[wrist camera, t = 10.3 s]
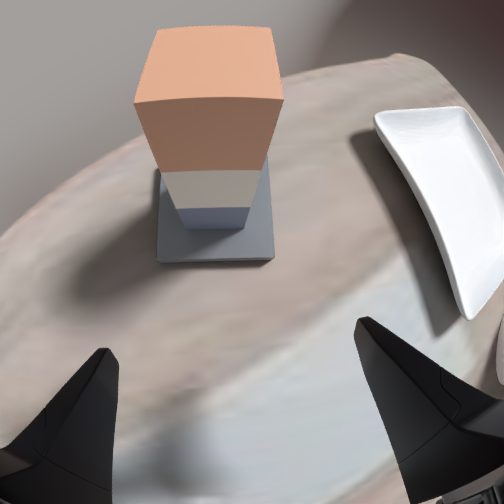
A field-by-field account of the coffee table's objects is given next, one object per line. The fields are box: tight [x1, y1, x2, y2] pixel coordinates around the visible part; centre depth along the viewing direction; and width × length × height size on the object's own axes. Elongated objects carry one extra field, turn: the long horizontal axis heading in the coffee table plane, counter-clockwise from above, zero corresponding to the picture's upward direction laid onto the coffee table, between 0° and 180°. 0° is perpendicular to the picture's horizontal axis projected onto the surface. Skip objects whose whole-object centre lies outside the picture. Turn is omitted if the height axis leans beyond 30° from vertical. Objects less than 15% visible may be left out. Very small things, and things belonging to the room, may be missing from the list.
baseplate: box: [157, 155, 275, 263], centre depth 19 cm, size 8×8×1 cm
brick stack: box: [134, 26, 284, 230], centre depth 13 cm, size 4×4×13 cm
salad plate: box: [373, 106, 504, 321], centre depth 22 cm, size 21×21×3 cm
